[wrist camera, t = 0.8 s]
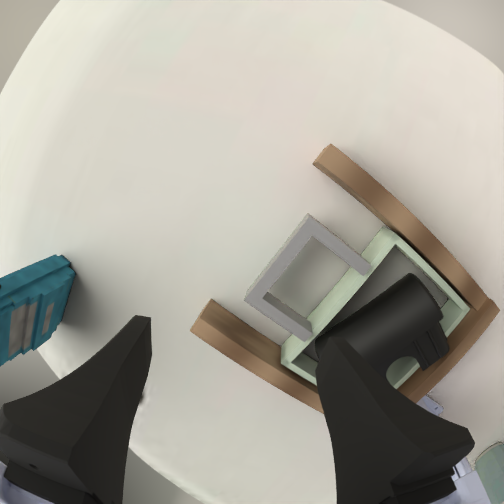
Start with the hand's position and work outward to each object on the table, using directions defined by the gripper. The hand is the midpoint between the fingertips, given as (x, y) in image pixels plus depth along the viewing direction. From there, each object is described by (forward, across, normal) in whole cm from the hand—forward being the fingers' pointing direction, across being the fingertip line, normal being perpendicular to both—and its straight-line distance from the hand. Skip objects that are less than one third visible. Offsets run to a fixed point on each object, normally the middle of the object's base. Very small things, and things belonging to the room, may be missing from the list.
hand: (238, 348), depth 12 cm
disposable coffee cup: (+1, -48, +29) cm, 56 cm away
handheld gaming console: (+17, +19, +12) cm, 28 cm away
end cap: (+12, -14, +6) cm, 19 cm away
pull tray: (+12, -11, +5) cm, 17 cm away
